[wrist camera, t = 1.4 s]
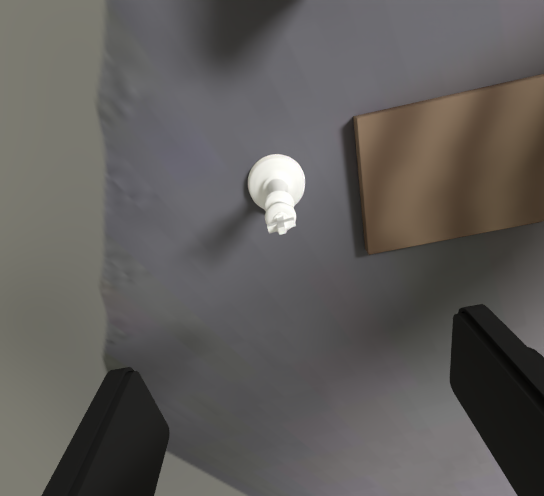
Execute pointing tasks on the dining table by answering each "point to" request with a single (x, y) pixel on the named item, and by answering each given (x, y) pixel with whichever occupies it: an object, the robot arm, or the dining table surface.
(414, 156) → the walnut board
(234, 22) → the dining table surface
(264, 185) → the chess piece
